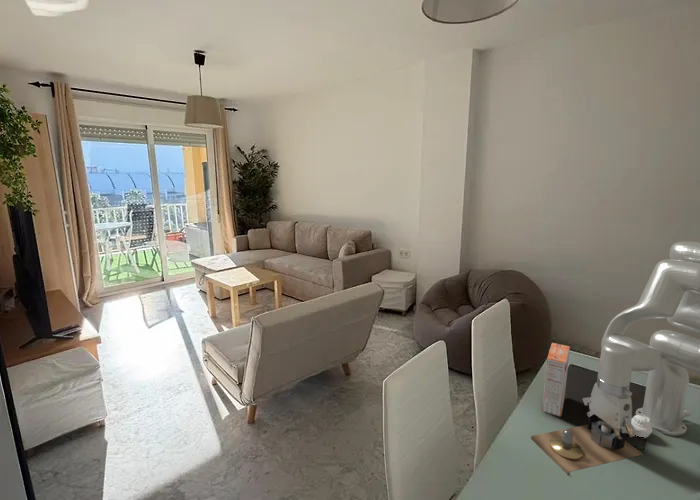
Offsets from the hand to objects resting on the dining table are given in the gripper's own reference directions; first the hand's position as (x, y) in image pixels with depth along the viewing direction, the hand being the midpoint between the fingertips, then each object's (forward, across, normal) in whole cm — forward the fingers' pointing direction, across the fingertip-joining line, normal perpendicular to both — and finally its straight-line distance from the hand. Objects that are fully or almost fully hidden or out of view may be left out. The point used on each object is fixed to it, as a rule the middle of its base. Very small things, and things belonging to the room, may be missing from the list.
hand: (604, 437), depth 106 cm
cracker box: (+2, +19, +1) cm, 19 cm away
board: (+2, 0, +7) cm, 7 cm away
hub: (+2, 0, +14) cm, 14 cm away
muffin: (+2, 0, -13) cm, 13 cm away
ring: (+1, 0, 0) cm, 1 cm away
